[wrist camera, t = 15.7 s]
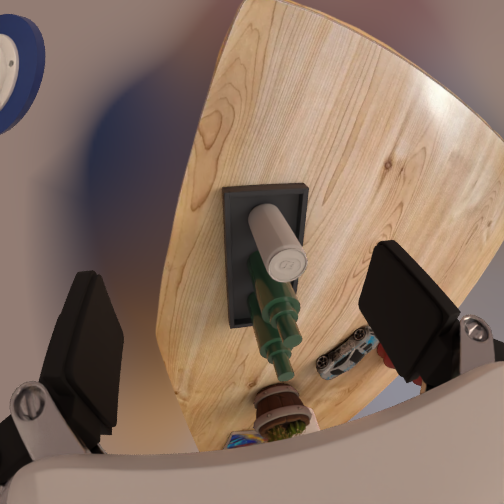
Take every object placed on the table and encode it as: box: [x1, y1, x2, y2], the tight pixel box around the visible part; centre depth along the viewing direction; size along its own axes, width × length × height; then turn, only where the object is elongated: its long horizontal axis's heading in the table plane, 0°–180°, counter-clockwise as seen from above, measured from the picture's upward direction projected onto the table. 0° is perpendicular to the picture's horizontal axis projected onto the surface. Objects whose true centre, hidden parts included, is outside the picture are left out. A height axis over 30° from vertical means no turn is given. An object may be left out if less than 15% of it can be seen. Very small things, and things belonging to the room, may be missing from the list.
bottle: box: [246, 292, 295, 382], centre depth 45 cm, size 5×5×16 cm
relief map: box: [223, 430, 268, 450], centre depth 92 cm, size 25×15×2 cm, turn 167°
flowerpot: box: [253, 383, 312, 443], centre depth 64 cm, size 14×15×20 cm
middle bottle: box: [246, 250, 302, 348], centre depth 40 cm, size 5×5×16 cm
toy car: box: [316, 326, 379, 380], centre depth 65 cm, size 8×17×5 cm, turn 134°
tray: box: [222, 183, 309, 329], centre depth 46 cm, size 12×26×2 cm, turn 179°
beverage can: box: [248, 204, 308, 282], centre depth 37 cm, size 5×5×12 cm
